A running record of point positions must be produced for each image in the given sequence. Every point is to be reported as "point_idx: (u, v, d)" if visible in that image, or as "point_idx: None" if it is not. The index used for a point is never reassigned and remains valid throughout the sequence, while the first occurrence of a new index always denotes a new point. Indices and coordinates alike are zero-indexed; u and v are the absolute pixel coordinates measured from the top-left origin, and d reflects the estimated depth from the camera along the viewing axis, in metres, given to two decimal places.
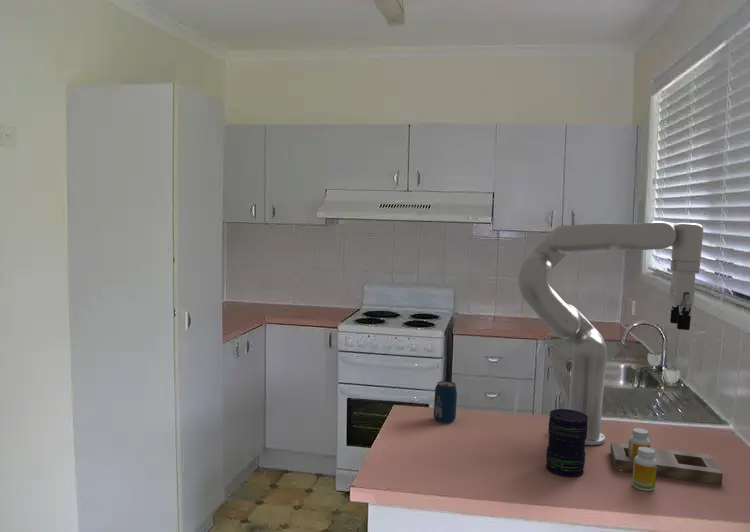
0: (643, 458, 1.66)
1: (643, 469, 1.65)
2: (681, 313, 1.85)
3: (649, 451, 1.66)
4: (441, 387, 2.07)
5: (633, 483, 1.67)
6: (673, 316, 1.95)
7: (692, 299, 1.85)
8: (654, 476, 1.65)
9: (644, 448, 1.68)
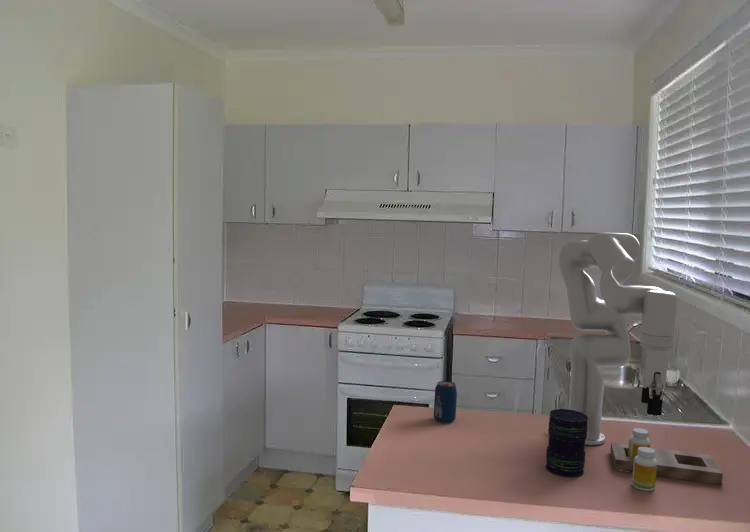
0: (643, 458, 1.66)
1: (643, 469, 1.65)
2: (651, 396, 1.59)
3: (649, 451, 1.66)
4: (441, 387, 2.07)
5: (633, 483, 1.67)
6: (644, 395, 1.70)
7: (664, 380, 1.60)
8: (654, 476, 1.65)
9: (644, 448, 1.68)
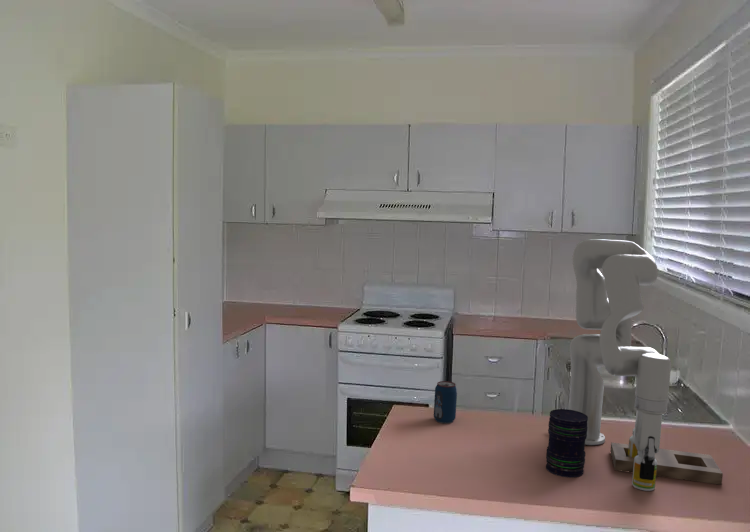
0: None
1: None
2: (644, 462, 1.63)
3: None
4: (441, 387, 2.07)
5: (633, 483, 1.67)
6: None
7: (658, 444, 1.61)
8: (654, 476, 1.65)
9: None
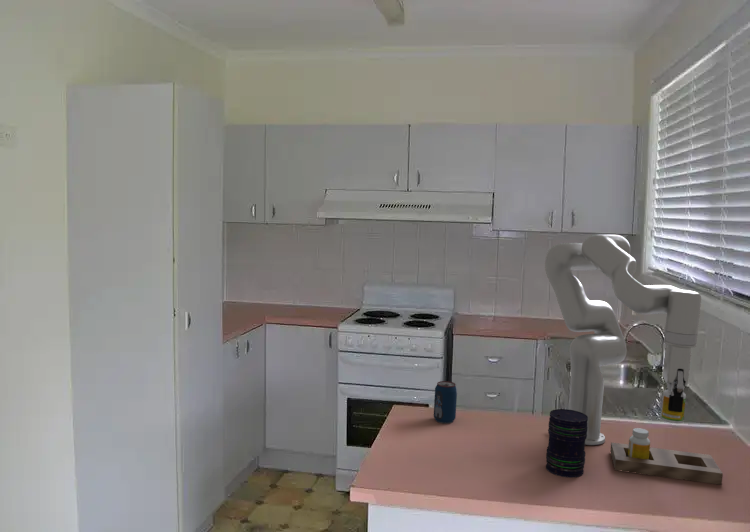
0: None
1: None
2: (672, 394, 1.67)
3: None
4: (441, 387, 2.07)
5: (662, 416, 1.72)
6: None
7: (687, 376, 1.65)
8: (683, 409, 1.69)
9: (674, 382, 1.72)
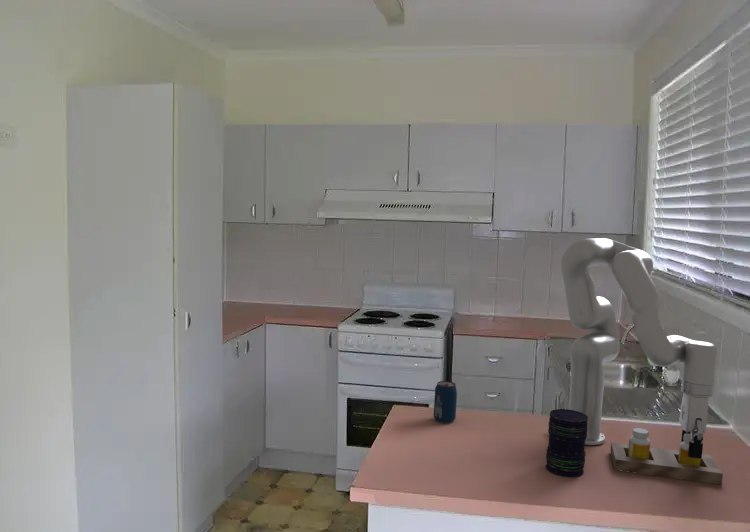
0: None
1: None
2: (693, 441, 1.73)
3: None
4: (441, 387, 2.07)
5: None
6: None
7: (705, 425, 1.72)
8: (699, 461, 1.77)
9: (689, 434, 1.79)
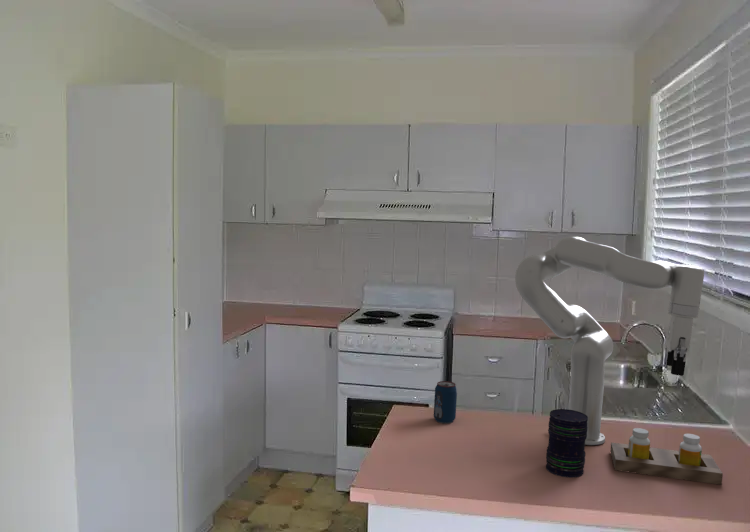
0: (689, 444, 1.77)
1: (688, 454, 1.76)
2: (675, 358, 1.80)
3: (694, 437, 1.77)
4: (441, 387, 2.07)
5: None
6: (669, 358, 1.90)
7: (688, 344, 1.80)
8: (699, 461, 1.77)
9: (689, 434, 1.79)
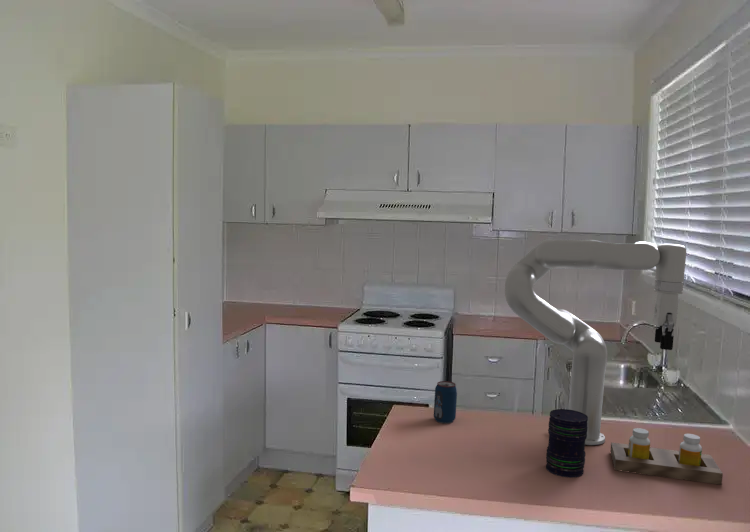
0: (689, 444, 1.77)
1: (689, 454, 1.76)
2: (664, 333, 1.87)
3: (695, 437, 1.77)
4: (441, 387, 2.07)
5: None
6: (657, 335, 1.97)
7: (675, 319, 1.87)
8: (699, 461, 1.77)
9: (690, 434, 1.79)
